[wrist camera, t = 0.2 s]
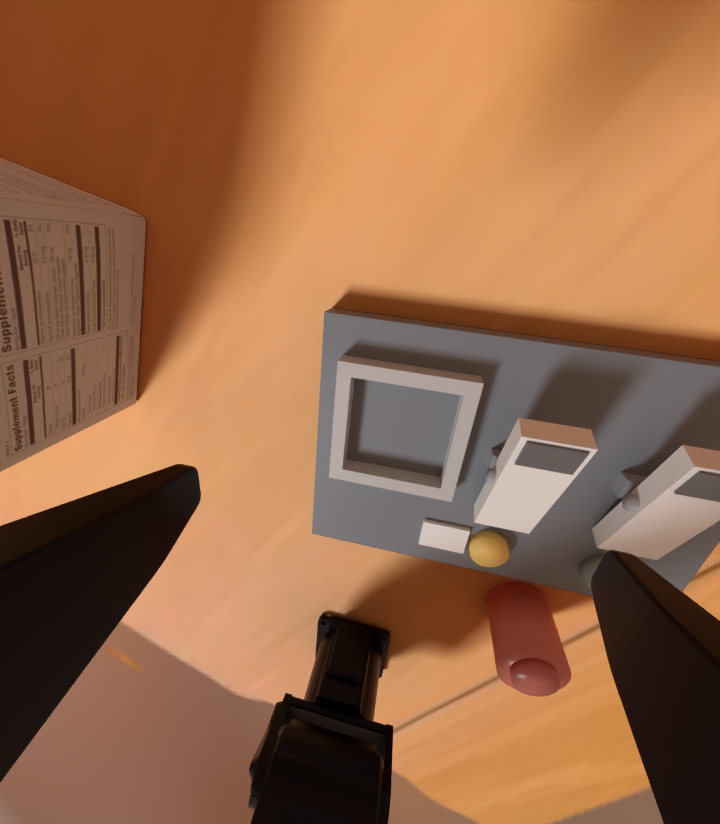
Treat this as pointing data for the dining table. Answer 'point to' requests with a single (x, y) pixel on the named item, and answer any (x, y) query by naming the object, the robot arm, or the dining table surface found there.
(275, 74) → the dining table surface
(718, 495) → the breaker
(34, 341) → the supplement box
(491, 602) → the cap
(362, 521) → the panel
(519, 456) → the block
